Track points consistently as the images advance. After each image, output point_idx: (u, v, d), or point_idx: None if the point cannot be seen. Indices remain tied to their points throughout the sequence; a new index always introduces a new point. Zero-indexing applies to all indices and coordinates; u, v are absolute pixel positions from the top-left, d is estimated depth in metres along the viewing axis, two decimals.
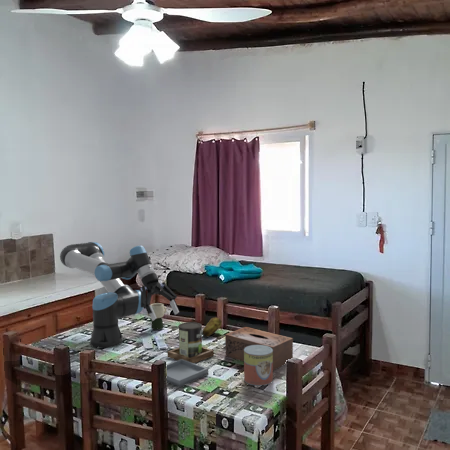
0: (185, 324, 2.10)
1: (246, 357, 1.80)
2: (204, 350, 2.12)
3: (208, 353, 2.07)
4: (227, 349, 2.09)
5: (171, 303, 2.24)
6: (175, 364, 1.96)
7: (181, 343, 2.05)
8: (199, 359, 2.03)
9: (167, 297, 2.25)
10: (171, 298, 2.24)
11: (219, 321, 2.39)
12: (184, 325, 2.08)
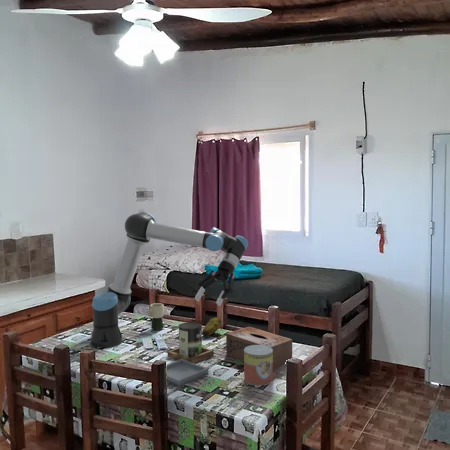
0: (185, 324, 2.10)
1: (246, 357, 1.80)
2: (204, 350, 2.12)
3: (208, 353, 2.07)
4: (228, 348, 2.10)
5: (202, 289, 2.22)
6: (175, 364, 1.96)
7: (181, 343, 2.05)
8: (199, 359, 2.03)
9: (207, 284, 2.23)
10: (205, 287, 2.23)
11: (219, 321, 2.39)
12: (184, 325, 2.08)
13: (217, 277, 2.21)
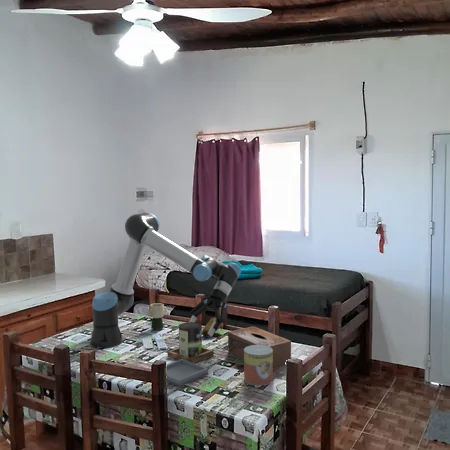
0: (185, 324, 2.10)
1: (246, 357, 1.80)
2: (204, 350, 2.12)
3: (208, 353, 2.07)
4: (229, 346, 2.12)
5: (193, 318, 2.17)
6: (175, 364, 1.96)
7: (181, 343, 2.05)
8: (199, 359, 2.03)
9: (198, 312, 2.18)
10: (196, 316, 2.19)
11: None
12: (184, 325, 2.08)
13: (209, 306, 2.16)
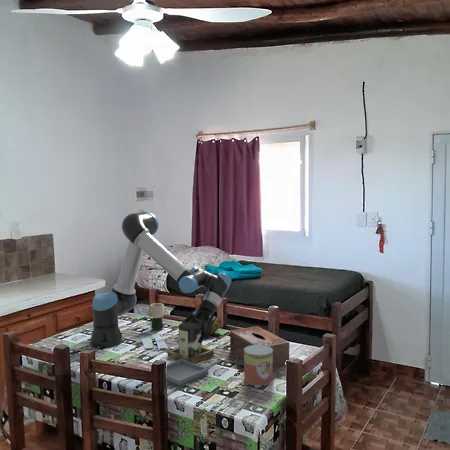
0: (185, 324, 2.10)
1: (246, 357, 1.80)
2: (204, 350, 2.12)
3: (208, 353, 2.07)
4: (231, 345, 2.13)
5: None
6: (175, 364, 1.96)
7: (181, 343, 2.05)
8: (199, 359, 2.03)
9: None
10: None
11: (219, 321, 2.39)
12: (184, 325, 2.08)
13: (198, 317, 2.13)
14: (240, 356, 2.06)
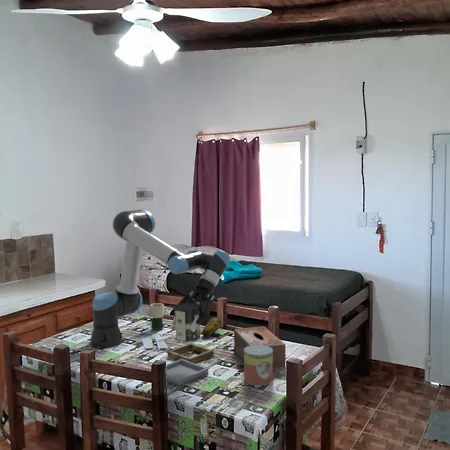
0: (182, 305, 1.95)
1: (246, 357, 1.80)
2: (204, 350, 2.12)
3: (208, 353, 2.07)
4: (235, 344, 2.16)
5: None
6: (175, 364, 1.96)
7: (178, 325, 1.90)
8: (199, 359, 2.03)
9: None
10: None
11: (219, 321, 2.39)
12: (180, 306, 1.93)
13: (195, 297, 1.98)
14: (240, 355, 2.08)
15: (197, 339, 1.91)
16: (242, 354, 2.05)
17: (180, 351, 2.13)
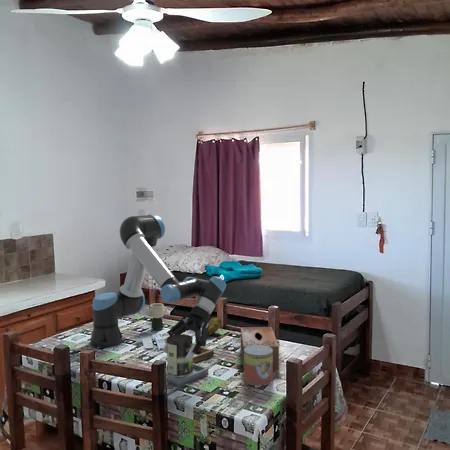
0: (175, 337, 1.89)
1: (246, 357, 1.80)
2: (204, 350, 2.12)
3: (208, 353, 2.07)
4: None
5: None
6: None
7: (169, 358, 1.85)
8: (199, 359, 2.03)
9: (177, 333, 1.94)
10: None
11: (219, 321, 2.39)
12: (172, 338, 1.88)
13: (189, 325, 1.92)
14: None
15: (189, 373, 1.86)
16: None
17: None
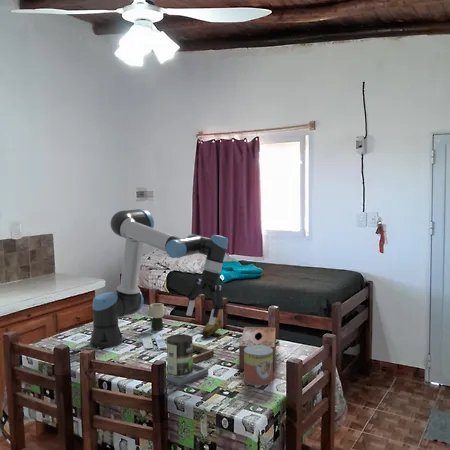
0: (175, 337, 1.89)
1: (246, 357, 1.80)
2: (204, 350, 2.12)
3: (208, 353, 2.07)
4: None
5: (192, 303, 2.05)
6: None
7: (169, 358, 1.85)
8: (199, 359, 2.03)
9: (195, 296, 2.05)
10: (194, 298, 2.06)
11: (219, 321, 2.39)
12: (172, 338, 1.88)
13: (203, 289, 2.01)
14: None
15: (189, 373, 1.86)
16: None
17: None
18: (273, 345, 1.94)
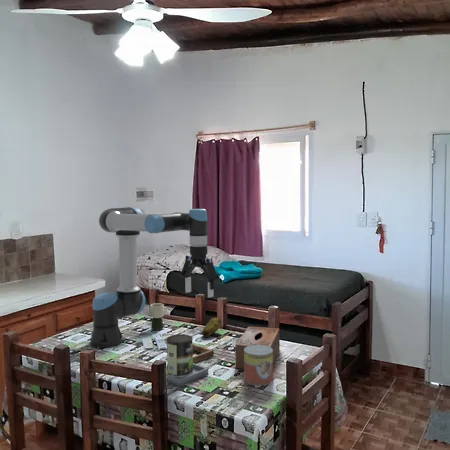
0: (175, 337, 1.89)
1: (246, 357, 1.80)
2: (204, 350, 2.12)
3: (208, 353, 2.07)
4: None
5: (188, 280, 2.06)
6: None
7: (169, 358, 1.85)
8: (199, 359, 2.03)
9: (189, 272, 2.06)
10: (189, 275, 2.07)
11: (219, 321, 2.39)
12: (172, 338, 1.88)
13: (195, 264, 2.01)
14: None
15: (189, 373, 1.86)
16: None
17: None
18: (269, 346, 1.93)
